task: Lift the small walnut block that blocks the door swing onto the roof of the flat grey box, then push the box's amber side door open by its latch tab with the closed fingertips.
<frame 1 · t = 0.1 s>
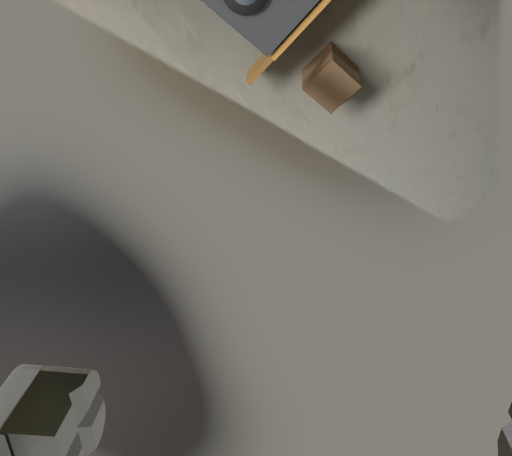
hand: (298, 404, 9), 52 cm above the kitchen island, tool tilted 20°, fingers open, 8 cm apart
walnut block: (330, 68, 59), on the kitchen island
side door: (296, 25, 52), point 3 cm above the kitchen island, hinge at 0.0°
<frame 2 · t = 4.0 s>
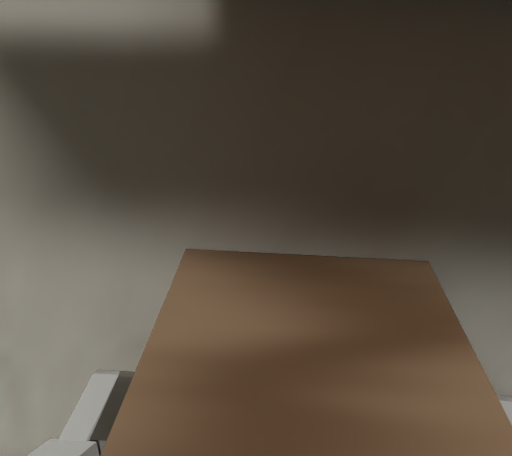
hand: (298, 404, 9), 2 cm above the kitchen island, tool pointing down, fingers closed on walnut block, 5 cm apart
walnut block: (298, 347, 11), on the kitchen island, touching gripper
when the fingers open (8 cm above the kitchen island, at t = 9.7 s): walnut block stays where it is, resting on grey box.
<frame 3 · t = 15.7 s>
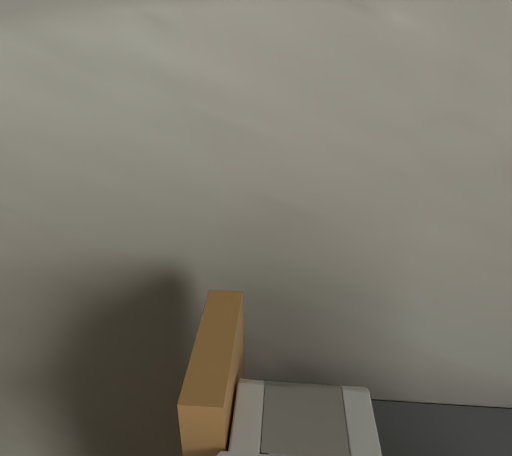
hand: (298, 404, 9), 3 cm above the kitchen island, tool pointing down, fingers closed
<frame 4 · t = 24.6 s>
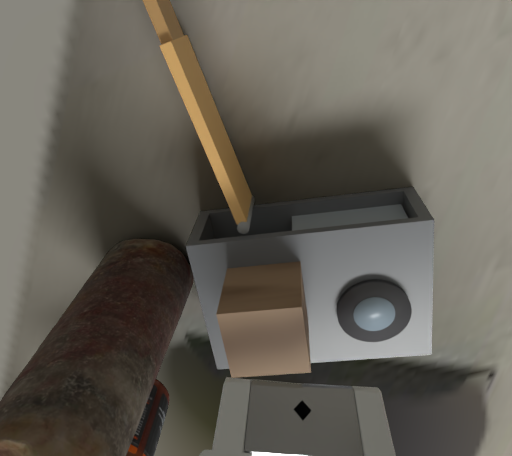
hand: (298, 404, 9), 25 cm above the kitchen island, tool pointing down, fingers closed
walnut block: (268, 295, 32), point 5 cm above the kitchen island, touching grey box
side door: (200, 103, 29), point 3 cm above the kitchen island, hinge at 101.5°
supplement bottle: (141, 390, 45), on the kitchen island
grey box: (310, 261, 37), on the kitchen island
candle: (150, 268, 38), on the kitchen island
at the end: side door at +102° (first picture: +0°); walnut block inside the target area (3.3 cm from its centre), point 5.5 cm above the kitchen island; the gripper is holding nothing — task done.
